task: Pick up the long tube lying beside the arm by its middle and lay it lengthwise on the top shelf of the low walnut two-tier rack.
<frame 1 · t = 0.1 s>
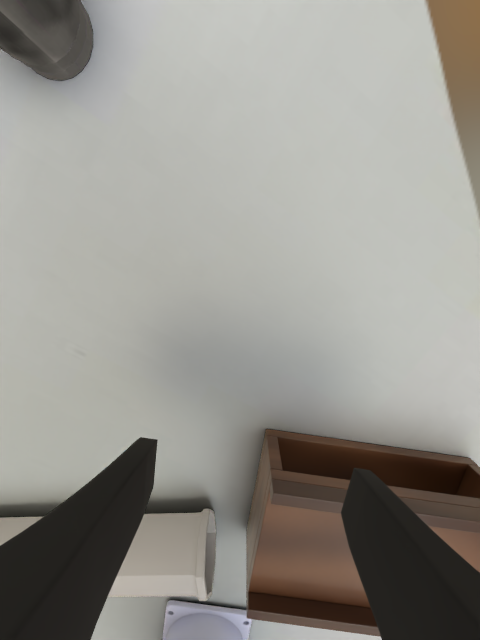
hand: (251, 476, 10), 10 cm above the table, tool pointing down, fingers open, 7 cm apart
tube: (73, 521, 23), on the table
rack: (352, 495, 22), on the table
beverage cup: (55, 36, 15), on the table
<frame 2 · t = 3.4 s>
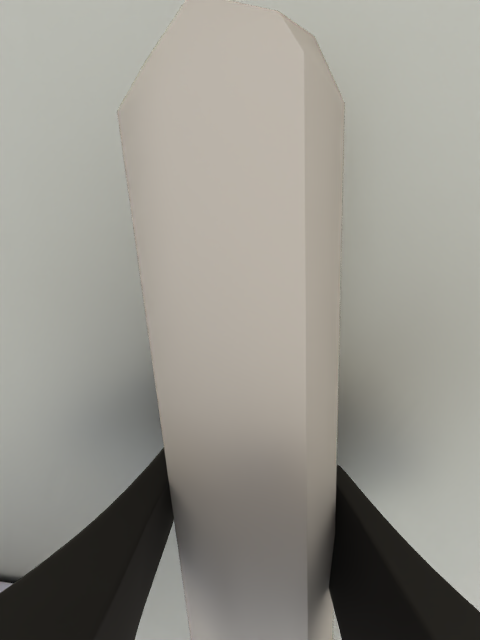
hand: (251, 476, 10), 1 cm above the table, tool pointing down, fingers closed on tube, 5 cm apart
tube: (252, 447, 11), on the table, touching gripper
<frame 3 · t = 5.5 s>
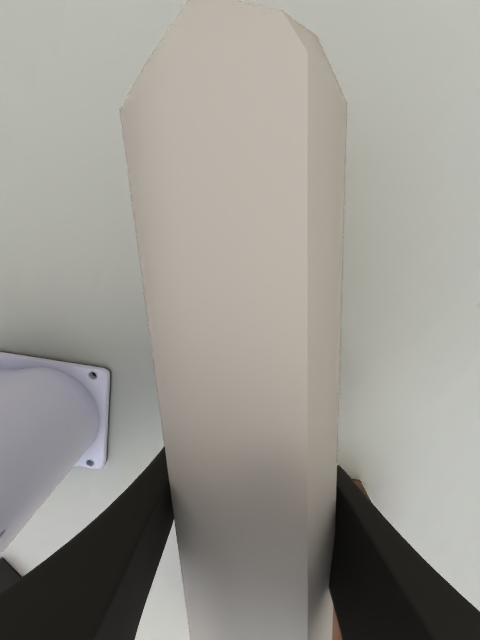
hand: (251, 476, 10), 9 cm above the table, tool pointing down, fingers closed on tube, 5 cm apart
tube: (252, 447, 11), point 7 cm above the table, touching gripper
when the fingers open (7 cm above the table, at t = 8.0 s): tube stays where it is, resting on rack.
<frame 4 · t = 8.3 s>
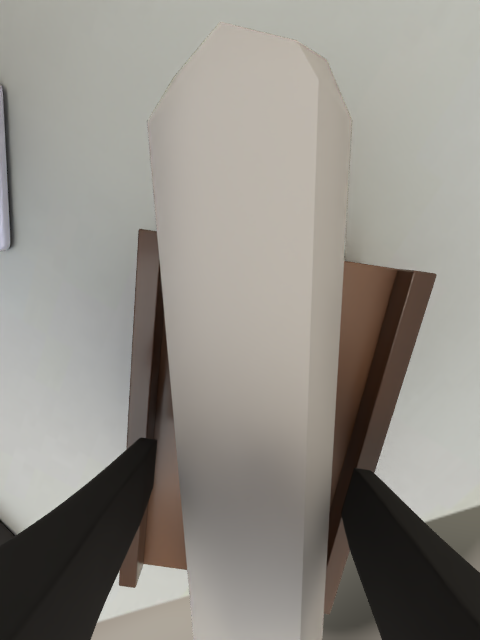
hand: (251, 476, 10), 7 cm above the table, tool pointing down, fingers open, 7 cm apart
tube: (253, 437, 12), point 5 cm above the table, touching rack
rack: (249, 387, 16), on the table
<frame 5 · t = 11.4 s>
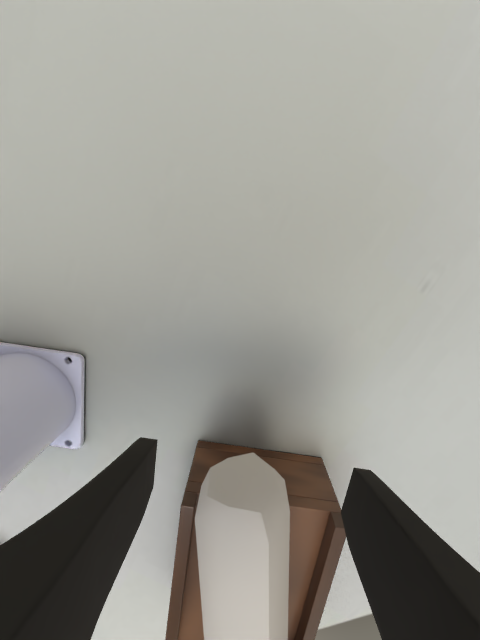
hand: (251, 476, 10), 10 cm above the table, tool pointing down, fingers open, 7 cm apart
tube: (246, 592, 19), point 5 cm above the table, touching rack
rack: (245, 527, 23), on the table
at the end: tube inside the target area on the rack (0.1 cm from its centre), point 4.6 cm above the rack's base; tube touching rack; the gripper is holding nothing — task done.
